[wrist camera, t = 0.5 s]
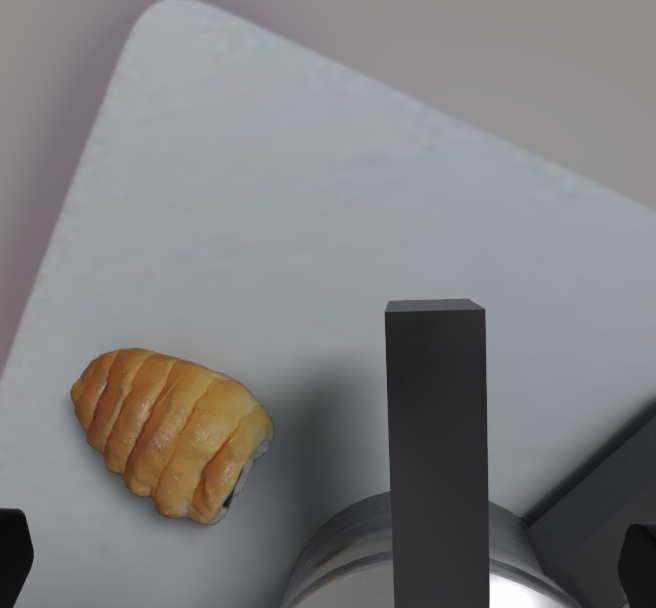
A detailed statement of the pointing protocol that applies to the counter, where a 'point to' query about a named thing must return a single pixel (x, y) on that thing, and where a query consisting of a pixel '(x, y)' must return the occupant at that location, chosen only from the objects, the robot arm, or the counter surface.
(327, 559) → the pot
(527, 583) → the lid
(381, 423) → the counter surface
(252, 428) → the pastry
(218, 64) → the counter surface
